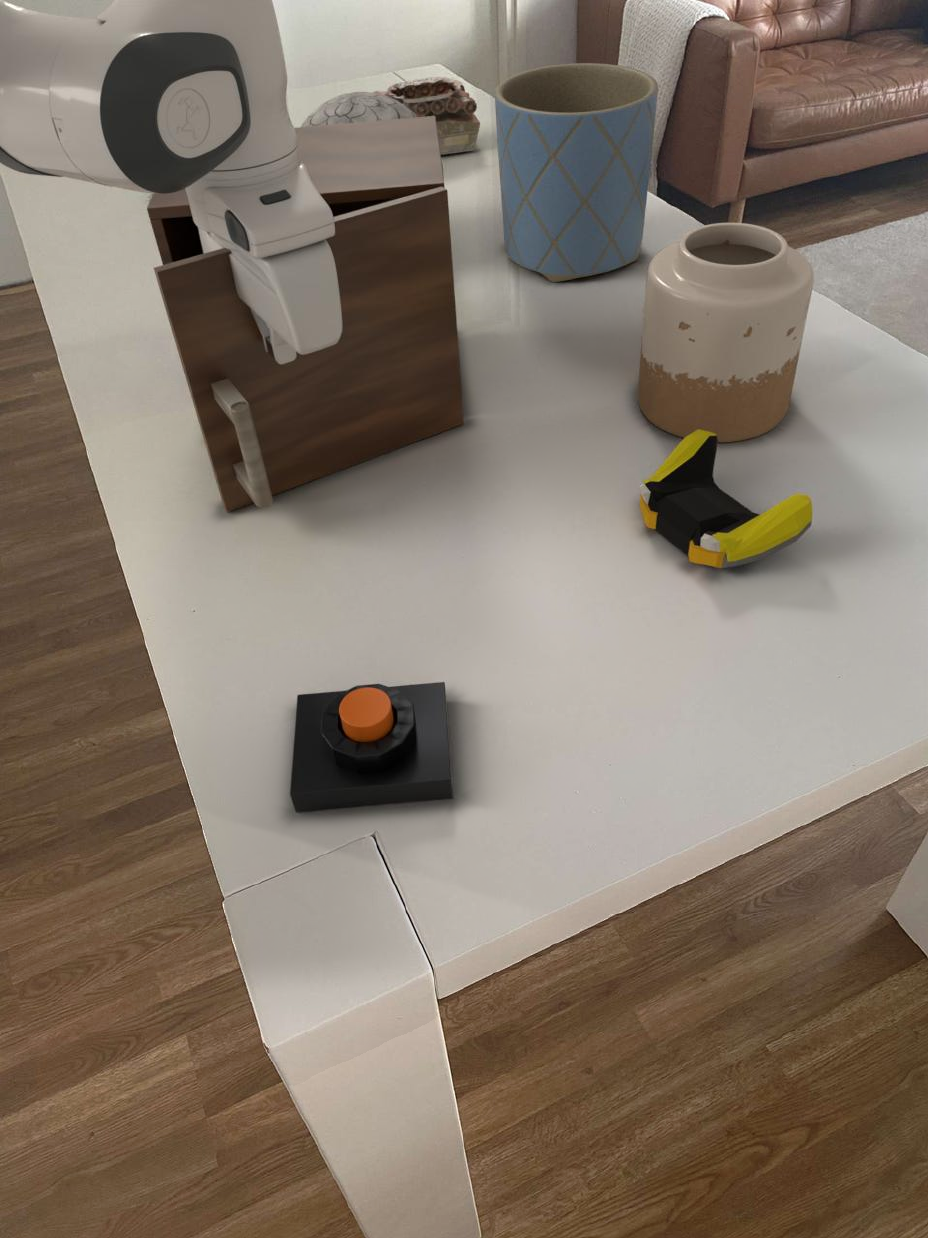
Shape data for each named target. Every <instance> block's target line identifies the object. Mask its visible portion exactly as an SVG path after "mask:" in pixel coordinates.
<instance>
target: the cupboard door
mask: <svg viewBox="0 0 928 1238" xmlns="http://www.w3.org/2000/svg"><path fill="white" fill-rule="evenodd" d="M444 187H445V186H444ZM444 187H438V188H435V189H431V190H428V191H424V192H420V193H417V194H413V195H410V196H406V197H403V198H399V199H396V200H392V201H389V202H385V203H382V204H378V205H374V206H371V207H367V208H364V209H360V210H357V211H353V212H350V213H346V214H343V215H339V216H335V217H333V219H334V225H335V235H334V236H332V237H330V238H327V239H325V240H326V241H327V242H328V244H329V246H330V248H331V251H332V254H333V257H334V261H335V265H336V271H337V278H338V286H339V294H340V303H341V313H342V333H341V336H340V339H339V341H338V342H337V343H336V344H335V345H332V346H330V347H327V348H324V349H321V350H318V351H315V352H312V353H309V354H305V355H301V354H299V353H297V352H296V358H295V360H293V361H291V362H288V363H285V364H279V363H278V362H277V361H276V360H275V359H274V358H273V357H272V356H271V355H270V354H269V353H267V351H266V350H265V346H264V341H263V337H262V334H261V332H260V330H259V328H258V326H257V323H256V321H255V319H254V317H253V315H252V312H251V309H250V307H249V306H248V305H247V304H246V303H245V302H243V301H242V300H241V299H240V298H239V296H238V293H237V290H236V286H235V281H234V276H233V271H232V267H231V262H230V257H229V254H231V253H232V252H231V250H229V249H226V248H222V249H219V250H215V251H211V252H208V253H204V254H201V255H197V256H194V257H190V258H187V259H183V260H180V261H176V262H173V263H169V264H165V265H163V264H162V265H158V266H155V267H153V271H154V275H155V278H156V281H157V284H158V288H159V292H160V295H161V298H162V301H163V305H164V308H165V312H166V316H167V319H168V322H169V325H170V330H171V333H172V336H173V339H174V343H175V346H176V349H177V352H178V356H179V359H180V363H181V367H182V369H183V373H184V377H185V380H186V383H187V387H188V391H189V394H190V398H191V400H192V404H193V408H194V411H195V415H196V418H197V421H198V425H199V428H200V431H201V434H202V435H201V436H202V438H203V441H204V444H205V448H206V451H207V455H208V458H209V463H210V465H211V469H212V472H213V475H214V479H215V483H216V485H217V489H218V492H219V497H220V499H221V502H222V506H223V508H224V510H225V512H227V513H230V512H233V511H236V510H237V509H240V508H243V507H245V506H249V505H252V504H254V505H255V506H256V507H257V508H260V509H261V508H262V509H263V508H268V507H271V506H272V504H273V503H274V499H273V496H275V495H277V494H280V493H283V492H285V491H288V490H291V489H294V488H296V487H298V486H302V485H304V484H307V483H309V482H312V481H315V480H317V479H320V478H323V477H326V476H328V475H330V474H331V475H332V474H334V473H337V472H339V471H341V470H344V469H347V468H349V467H352V466H355V465H358V464H360V463H363V462H365V461H367V460H371V459H373V458H376V457H379V456H381V455H384V454H387V453H389V452H393V451H395V450H397V449H400V448H402V447H406V446H408V445H410V444H414V443H416V442H418V441H421V440H423V439H426V438H430V437H432V436H435V435H437V434H439V433H442V432H445V431H448V430H451V429H453V428H455V427H459V426H461V425H464V424H465V421H464V406H463V405H464V404H463V392H462V390H463V389H462V379H461V376H462V375H461V364H460V350H459V336H458V322H457V321H458V320H457V308H456V307H457V305H456V295H455V294H456V293H455V280H454V279H455V277H454V266H453V265H454V264H453V252H452V251H453V250H452V236H451V222H450V209H449V208H450V207H449V196H448V193H449V191H448V189H447V188H446V187H445V188H444Z"/></svg>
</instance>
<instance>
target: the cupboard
mask: <svg viewBox="0 0 928 1238" xmlns="http://www.w3.org/2000/svg"><path fill="white" fill-rule="evenodd" d="M294 128H295V131H296V133H297V137H298V142H299V148H300V155H301V160H302V163H303V164H304V165H305V167H306V169H307V172H308V175H309V177H310V179H311V181H312V183H313V185H314V186H315V188H316V189H317V191H318V192H319V194H320V195H321V196H322V198H323V199H324V200H325V202H326V203H327V204H328V206H329V207H330V209H331V211H332V214H333V217H335V216H339V215H343V214H346V213H350V212H353V211H357V210H360V209H364V208H367V207H371V206H374V205H378V204H382V203H385V202H389V201H392V200H396V199H399V198H403V197H406V196H410V195H413V194H417V193H420V192H424V191H428V190H431V189H435V188H438V187H444V188H445V189H446V187H445V177H444V178H443V175H444V169H443V170H442V166H443V162H442V163H441V161H442V155H440V147H439V140H438V132H437V124H436V117H435V116H426V117H415V118H403V119H391V120H380V121H368V122H357V123H345V124H333V125H322V126H310V127H301V126H299V127H294ZM146 210H147V211H146V212H147V214H148V218H149V222H150V224H151V227H152V228H151V229H152V232H153V235H154V238H155V242H156V247H157V249H158V253H159V256H160V259H161V262H162V265H165V264H169V263H173V262H176V261H180V260H183V259H187V258H190V257H194V256H197V255H201V254H204V253H203V249H202V244H201V240H200V235H199V230H198V227H197V226H196V224H195V223H194V221H193V217H192V213H191V209H190V205H189V201H188V197H187V193H186V189H183V190H180V191H178V192H174V193H167V194H162V193H160V194H152V196H151V198H150V200H149V203H148V205H147V207H146Z"/></svg>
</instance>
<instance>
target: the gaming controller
mask: <svg viewBox="0 0 928 1238" xmlns="http://www.w3.org/2000/svg"><path fill="white" fill-rule="evenodd" d="M718 444H719V442H718V439H717V435H716V434H715V433H712V432H709V431H704V430H700V429H698V430H696V431H695V432H693V433H691V434H690V435H688V436H686V437H685V438H683V439H682V440H681V441H680V442H679V443H678V444H677V445H676V447H675V448H674V449H673V451H671V453H670V454H669V456H668V457H666V459H665V460H664V461H663V462H662V463H661V465H660V466H659V467H658V468H657V469H656V471H655V472H654V473H653V474H652V475H651V477H650V478H647V479H644V480H642V483H641V484H639V486H638V490H639V492H640V497H639V506H638V507H639V509H640V512H641V514H642V515H641V516H642V519H643V521H644V524H645V526H646V527H647V528H648V529H652V530H655V531H656V532H657V533H658V534H659V535H660V536H662V537H663V538H664V539H665V540H667V542H669V543H670V544H671V545H673V546H674V547H676V548H677V549H678V550H679V551H680V552H682V553H683V554H684V555H685V556H687V557H688V560H689V563H694V564H697V565H703V566H704V565H705V566H708V567H710V568H711V567H712V568H715V569H718V570H720V569H726V568H734V567H739V566H742V565H747V564H749V563H753V562H756V561H761V560H763V559H765V558H767V557H768V556H770V555H773V554H774V553H776V552H778V551H781V550H782V549H785V548H787V547H789V546H791V545H792V544H794V543H796V542H797V541H798V540H799V539H800V538H801V537H802V536H803V535H804V534H805V533H806V532H807V531H808V530H809V529H810V528H811V527H812V523H813V503H812V499H811V497H810V496H809V495H808V494H804V493H794V494H793V495H791V496H789V497H787V498H785V499H783V500H781V501H780V502H778V503H777V504H774V505H773V506H772V507H771V508H769V509H767V510H766V511H764V512H762V513H756V512H753V511H751V509H749V508H748V507H746V506H745V505H744V504H742V503H740V502H739V501H738V500H736V499H735V498H734V497H732V496H731V495H730V494H728V493H726V492H725V491H724V490H722V489H721V488H720V487H719V486H718V485H717V483H716V482H715V479H714V468H715V462H716V457H717V450H718Z"/></svg>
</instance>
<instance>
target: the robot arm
mask: <svg viewBox="0 0 928 1238" xmlns="http://www.w3.org/2000/svg"><path fill="white" fill-rule="evenodd" d="M287 90H288V71H287V65H286V58H285V54H284V48H283V43H282V38H281V32H280V28H279V22H278V17H277V15H276V10H275V6H274V2H273V0H114V1H113V2H112V3H111V4H110V5H109V6H108V7H106V9H105V10H104V11H102V12H101V13H99V14H98V15H97V16H96V18H95V19H94V18H84V17H75V16H66V15H58V14H51V13H46V12H41V11H37V10H34V9H30V8H27V7H23V6H20V5H17V4H13V3H11V2H9V1H6V0H0V164H1V165H3V166H5V167H7V168H8V169H11V170H13V171H16V172H17V173H22V174H27V175H33V176H45V177H55V178H63V177H64V178H69V179H72V180H76V181H77V180H78V181H82V182H86V183H91V184H98V185H102V186H106V187H111V188H117V189H123V190H127V191H132V192H136V193H143V194H151V195H153V194H160V193H162V194H167V193H174V192H178V191H180V190H183V189H186V193H187V197H188V201H189V205H190V209H191V213H192V217H193V221H194V223H195V224H196V226H197V227H198V230H199V235H200V240H201V244H202V249H203V253H208V252H211V251H215V250H219V249H222V248H226V249H229V250H231V252H232V253H231V254H229V257H230V262H231V267H232V271H233V276H234V281H235V286H236V290H237V293H238V296H239V298H240V299H241V300H242V301H243V302H245V303H246V304H247V305H248V306H249V307H250V309H251V312H252V315H253V317H254V319H255V321H256V323H257V326H258V328H259V330H260V332H261V334H262V337H263V341H264V346H265V350H266V351H267V353H269V354H270V355H271V356H272V357H273V358H274V359H275V360H276V361H277V362H278V363H279V364H285V363H288V362H291V361H293V360H295V358H296V352H297V353H299V354H301V355H305V354H309V353H312V352H315V351H318V350H321V349H324V348H327V347H330V346H332V345H335V344H336V343H337V342H338V341H339V339H340V336H341V333H342V313H341V303H340V294H339V286H338V278H337V271H336V265H335V261H334V257H333V254H332V251H331V248H330V246H329V244H328V242H327V241H326V240H325V239H327V238H330V237H332V236H334V235H335V225H334V219H333V214H332V211H331V209H330V207H329V206H328V204H327V203H326V202H325V200H324V199H323V198H322V196H321V195H320V194H319V192H318V191H317V189H316V188H315V186H314V185H313V183H312V181H311V179H310V177H309V175H308V172H307V169H306V167H305V165H304V164H303V163H302V160H301V155H300V148H299V142H298V137H297V133H296V131H295V128H296V127H295V126H294V124H293V122H292V120H291V117H290V114H289V110H288V106H287Z"/></svg>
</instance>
